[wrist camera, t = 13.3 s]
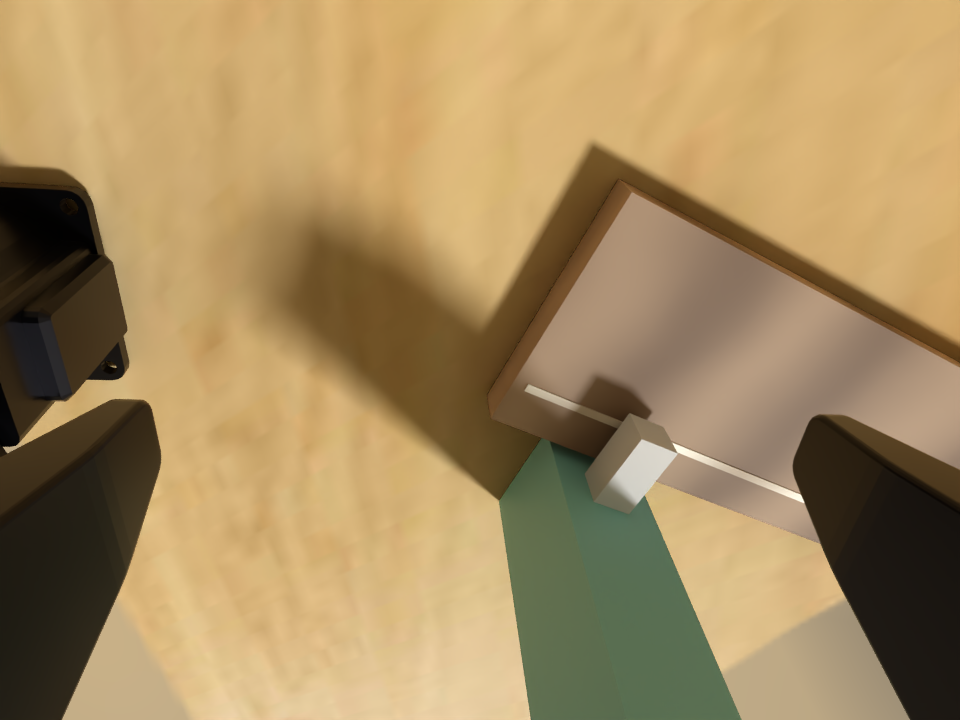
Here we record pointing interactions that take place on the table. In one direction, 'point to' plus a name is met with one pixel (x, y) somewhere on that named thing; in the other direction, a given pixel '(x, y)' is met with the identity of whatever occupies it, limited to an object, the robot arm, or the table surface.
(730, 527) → the table surface
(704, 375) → the board
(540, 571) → the teal rectangular block
